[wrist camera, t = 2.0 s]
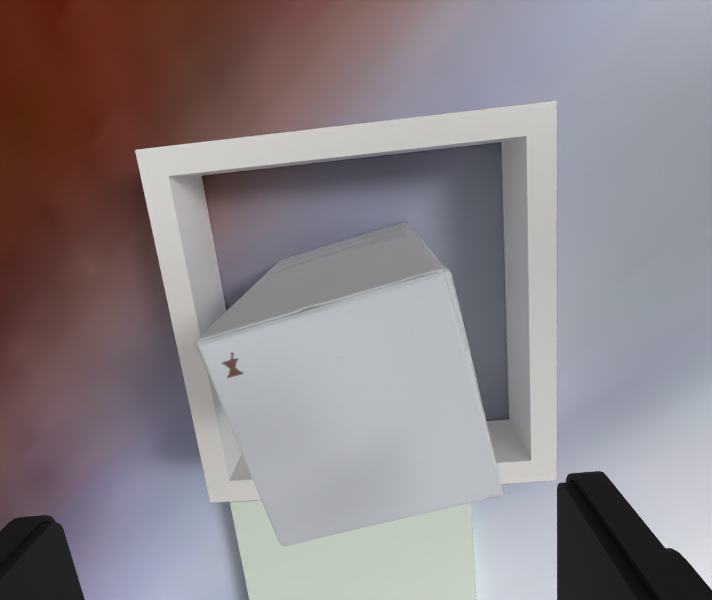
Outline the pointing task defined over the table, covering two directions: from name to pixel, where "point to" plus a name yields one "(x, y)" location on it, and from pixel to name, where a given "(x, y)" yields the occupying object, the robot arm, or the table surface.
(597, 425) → the table surface
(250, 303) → the supplement box
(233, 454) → the bin
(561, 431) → the table surface
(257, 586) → the pad
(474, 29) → the table surface
